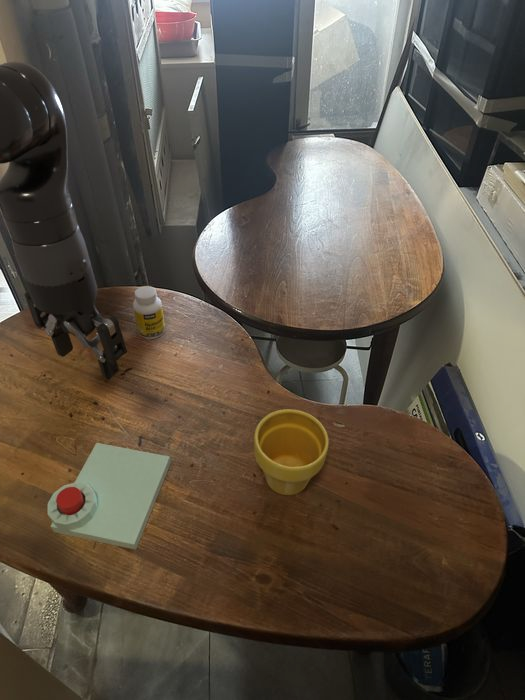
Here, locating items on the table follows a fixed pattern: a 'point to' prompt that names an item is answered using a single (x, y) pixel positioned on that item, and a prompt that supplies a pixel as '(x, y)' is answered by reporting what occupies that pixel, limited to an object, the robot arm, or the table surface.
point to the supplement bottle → (148, 313)
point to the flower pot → (290, 449)
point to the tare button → (70, 500)
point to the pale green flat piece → (113, 496)
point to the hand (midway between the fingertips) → (88, 363)
